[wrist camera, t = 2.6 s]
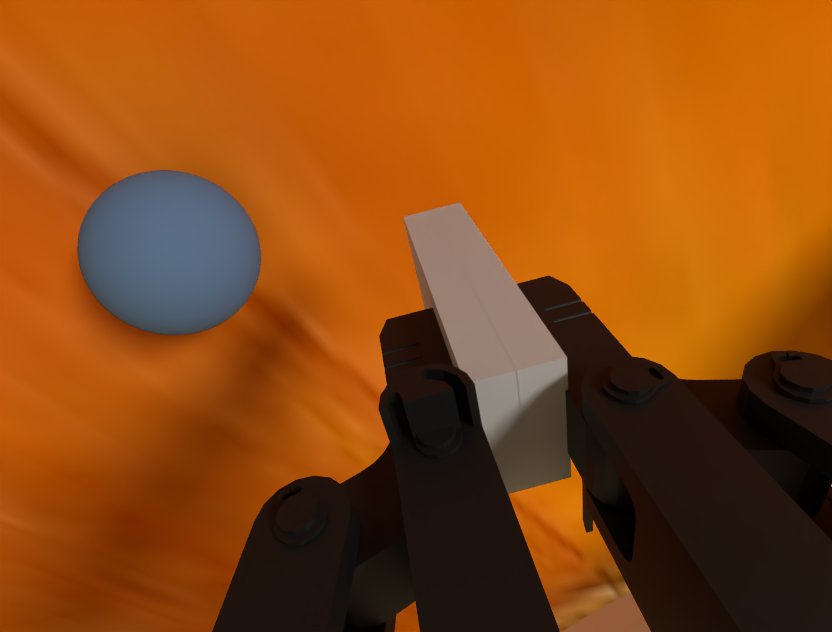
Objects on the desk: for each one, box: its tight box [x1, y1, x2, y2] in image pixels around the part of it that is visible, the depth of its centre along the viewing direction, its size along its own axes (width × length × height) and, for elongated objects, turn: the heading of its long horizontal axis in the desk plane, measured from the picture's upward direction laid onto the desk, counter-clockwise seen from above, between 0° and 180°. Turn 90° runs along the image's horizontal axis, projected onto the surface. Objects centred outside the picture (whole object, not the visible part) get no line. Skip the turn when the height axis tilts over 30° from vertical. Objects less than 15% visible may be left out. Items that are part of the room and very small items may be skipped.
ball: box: [77, 170, 261, 335], centre depth 18 cm, size 6×6×6 cm
